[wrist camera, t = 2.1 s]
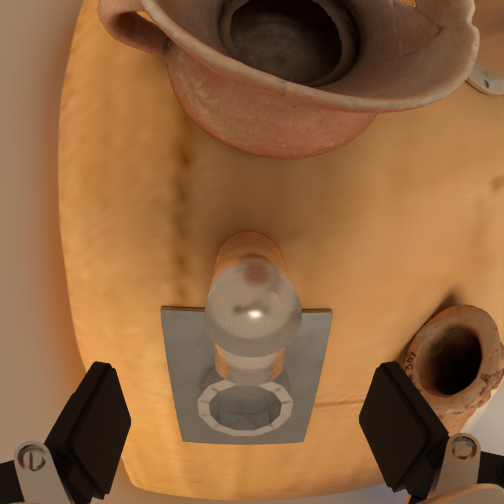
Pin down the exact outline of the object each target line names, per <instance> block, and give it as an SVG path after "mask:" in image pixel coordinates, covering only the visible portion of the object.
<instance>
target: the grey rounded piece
mask: <svg viewBox="0 0 504 504" xmlns="http://www.w3.org/2000/svg"><path fill="white" fill-rule="evenodd" d="M301 320H302V308H301V304H300V301H299V299H298V296H297V294H296V291H295V289H294V287H293V284H292V282H291V279H290V277H289V275H288V272H287V270H286V268H285V265H284V263H283V261H282V258H281V256H280V254H279V251H278V249H277V247H276V245H275V244H274V243H273V242H272V241H271V240H270V239H269V238H268V237H266V236H265V235H263V234H260V233H257V232H251V231H248V232H241V233H237V234H235V235H233V236H231V237H230V238H228V239H227V240H226V241H225V242H224V243H223V245H222V246H221V248H220V250H219V253H218V256H217V260H216V264H215V268H214V272H213V276H212V281H211V285H210V289H209V293H208V297H207V302H206V306H205V311H204V321H205V326H206V329H207V331H208V334H209V335H210V337H211V338H212V340H213V341H214V362H215V369H216V371H217V372H218V374H219V375H220V376H221V377H222V378H224V379H225V380H227V381H229V382H231V383H234V384H238V385H243V386H257V385H262V384H266V383H269V382H271V381H273V380H274V379H276V378H277V377H278V376H279V375H280V374H281V372H282V370H283V364H284V356H285V347H286V345H288V344H289V343H290V342H291V341H292V340H293V338H294V337H295V336H296V334H297V332H298V330H299V328H300V325H301Z"/></svg>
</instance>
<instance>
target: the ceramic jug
mask: <svg viewBox="0 0 504 504" xmlns="http://www.w3.org/2000/svg"><path fill="white" fill-rule="evenodd" d="M415 2H416V8H415V7H413V6H410V5H407V4H405V3H404V2H402V1H399V0H99V2H98V7H97V11H98V15H99V19H100V21H101V22H102V24H103V25H104V27H105V29H106V30H107V32H108V33H109V34H110V35H111V36H112V37H113V38H114V39H116V40H117V41H119V42H121V43H123V44H125V45H128V46H131V47H133V48H137V49H139V50H142V51H146V52H149V53H152V54H154V55H157V56H160V57H162V58H163V59H164V61H165V62H166V65H167V68H168V73H169V78H170V82H171V85H172V88H173V91H174V93H175V95H176V97H177V99H178V101H179V102H180V104H181V105H182V107H183V108H184V110H185V111H186V112H187V114H188V115H189V116H190V117H191V118H192V120H193V121H195V123H196V124H198V125H199V126H200V127H201V128H202V129H203V130H205V131H206V132H207V133H209V134H210V135H211V136H213V137H214V138H216V139H218V140H219V141H221V142H223V143H225V144H227V145H229V146H232V147H234V148H236V149H239V150H242V151H244V152H248V153H251V154H254V155H258V156H263V157H269V158H278V159H299V158H306V157H312V156H316V155H320V154H323V153H326V152H329V151H332V150H334V149H337V148H339V147H341V146H343V145H345V144H347V143H348V142H350V141H351V140H353V139H354V138H355V137H357V136H358V135H359V134H360V133H361V132H363V131H364V130H365V129H366V128H367V126H368V125H369V124H370V123H371V122H372V121H373V119H374V118H375V116H376V115H377V113H386V112H398V111H405V110H411V109H415V108H419V107H422V106H425V105H428V104H431V103H434V102H436V101H439V100H441V99H443V98H445V97H446V96H448V95H449V94H451V93H452V92H453V91H455V90H457V89H458V87H459V86H460V85H461V84H462V83H463V82H464V81H465V80H466V79H467V78H468V76H469V75H470V73H471V71H472V69H473V67H474V65H475V62H476V58H477V56H478V51H479V45H480V40H479V39H480V33H479V30H478V29H477V28H476V27H475V26H473V25H472V16H473V14H474V11H475V4H474V0H415ZM135 11H137V12H138V11H146V13H147V14H148V15H149V16H150V18H151V19H152V20H153V21H154V22H155V23H156V25H155V24H154V23H152V22H150V21H148V20H146V19H145V18H143V17H141V16H140V15H138V14H137V13H136V12H135Z"/></svg>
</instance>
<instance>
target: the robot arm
mask: <svg viewBox="0 0 504 504" xmlns="http://www.w3.org/2000/svg"><path fill="white" fill-rule="evenodd" d="M474 4H475V11H474V14H473V16H472V25H473V26H475V27H476V28H477V29H478V30H479V33H480V39H479V40H480V45H479V51H478V56H477V58H476V62H475V65H474V67H473V69H472V71H471V73H470V75H469V76H468V78H467V79H466V81H467V82H468V83H469V84H471V85H472V86H473V87H474V88H476V89H477V90H479V91H481V92H482V93H484V94H488V95H501V94H504V0H474ZM359 423H360V426H361V428H362V430H363V432H364V435H365V437H366V439H367V441H368V443H369V446H370V448H371V450H372V453H373V455H374V457H375V459H376V462H377V464H378V466H379V468H380V471H381V473H382V475H383V478H384V480H385V482H386V485H387V486H388V487H391V488H392V490H393V492H394V493H395V492H398V491H401V490H403V489H406V490H407V492H408V495H407V498H406V500H405V503H404V504H504V456H501V455H496V454H491V453H487V452H483V451H481V450H480V449H481V448H480V444H479V442H478V441H477V439H476V438H475V437H473V436H472V435H470V434H467V433H458V434H455V435H453V436H452V437H451V438H450V436H449V435H448V434H449V432H448V431H447V429H446V428H445V426H444V425H443V423H442V422H441V421H440V419H439V418H438V416H437V415H436V413H435V412H434V411H433V409H432V408H431V407H430V405H429V404H428V402H427V401H426V400H425V398H424V397H423V396H422V394H421V393H420V391H419V390H418V389H417V387H416V386H415V385H414V383H413V382H412V381H411V379H410V378H409V377H408V375H407V374H406V373H405V371H404V370H403V369H402V367H401V366H400V365H399V363H398V362H396V361H392V362H386V363H381V365H380V366H379V367H378V368H376V370H375V373H374V376H373V379H372V382H371V385H370V388H369V391H368V394H367V396H366V399H365V402H364V404H363V407H362V410H361V412H360V415H359ZM130 426H131V417H130V414H129V411H128V408H127V405H126V402H125V399H124V396H123V393H122V389H121V386H120V383H119V379H118V376H117V372H116V369H115V368H112V366H111V365H110V364H109V363H103V362H97V361H95V362H94V363H93V364H92V366H91V367H90V369H89V370H88V372H87V373H86V375H85V377H84V379H83V380H82V382H81V383H80V385H79V387H78V388H77V390H76V392H75V393H73V394H72V395H71V397H70V399H69V400H68V402H67V404H66V405H65V407H64V409H63V410H62V412H61V414H60V416H59V417H58V419H57V421H56V423H55V424H54V426H53V428H52V430H51V432H50V433H49V435H48V437H47V439H46V441H45V443H44V444H42V443H40V442H37V441H27V442H25V443H22V444H21V445H20V446H18V448H17V449H16V450H15V453H14V460H12V461H8V462H5V463H1V464H0V504H90V502H91V499H92V497H94V498H98V499H101V500H103V499H104V496H105V494H109V492H110V489H111V486H112V483H113V480H114V476H115V473H116V470H117V466H118V463H119V460H120V457H121V453H122V450H123V447H124V444H125V441H126V438H127V435H128V432H129V429H130Z"/></svg>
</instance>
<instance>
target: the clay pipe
mask: <svg viewBox="0 0 504 504" xmlns="http://www.w3.org/2000/svg"><path fill="white" fill-rule="evenodd" d="M403 370H404V371H405V373H406V374H407V375H408V377H409V378H410V379H411V381H412V382H413V383H414V385H415V386H416V387H417V389H418V390H419V391H420V393H421V394H422V396H423V397H424V398H425V400H426V401H427V402H428V404H429V405H430V407H431V408H432V409H433V411H434V412H435V413H436V415H437V416H438V418H439V419H440V421H441V422H442V423H443V425H444V426H445V428H446V429H447V431H448V432H449V434H448V435H449V436H450V438H451V437H452V436H453V435H455V434H458V433H459V432H460V430H461V429H462V427H463V425H464V424H465V422H466V421H467V419H468V418H469V417H471V416H472V414H473V413H474V411H475V409H477V408H479V407H481V406H482V405H484V404H485V403H486V402H487V401H488V400H489V399H490V398H491V390H493V389H497V388H498V386H499V384H500V383H501V381H502V379H503V376H504V346H503V344H502V343H501V342H500V337H499V333H498V329H497V326H496V323H495V321H494V320H493V319H492V318H491V316H490V315H489V314H488V313H487V312H486V311H484V310H482V309H480V308H477V307H475V306H471V305H456V306H452V307H449V308H447V309H445V310H443V311H441V312H440V313H438V314H437V315H436V316H434V317H433V318H432V319H431V320H430V321H429V322H428V323H427V324H425V325H424V326H423V327H422V328H421V329H420V330H419V331H418V332H417V334H416V336H415V338H414V339H413V341H412V343H411V345H410V347H409V349H408V352H407V356H406V359H405V363H404V369H403Z"/></svg>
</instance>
